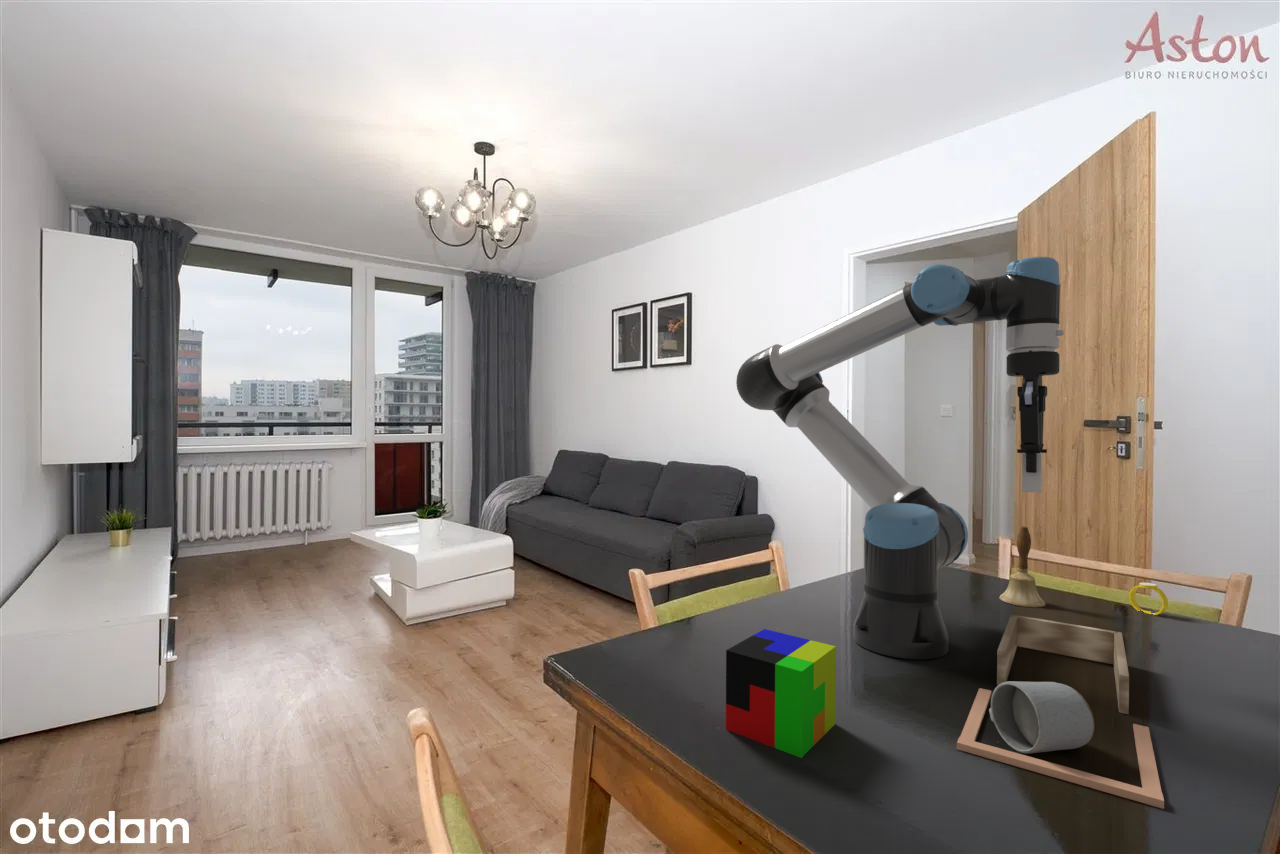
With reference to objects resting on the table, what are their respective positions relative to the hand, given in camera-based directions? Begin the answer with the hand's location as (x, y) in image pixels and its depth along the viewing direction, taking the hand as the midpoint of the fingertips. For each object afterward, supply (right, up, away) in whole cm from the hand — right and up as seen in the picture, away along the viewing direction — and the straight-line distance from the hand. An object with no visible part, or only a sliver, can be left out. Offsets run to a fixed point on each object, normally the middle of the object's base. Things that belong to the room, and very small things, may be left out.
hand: (1032, 491), depth 103 cm
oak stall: (-2, -27, -10) cm, 29 cm away
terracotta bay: (-16, -27, -29) cm, 43 cm away
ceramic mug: (-19, -27, -29) cm, 44 cm away
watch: (+35, -27, +19) cm, 48 cm away
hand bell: (+15, -26, +26) cm, 40 cm away
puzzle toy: (-49, -27, -26) cm, 61 cm away
